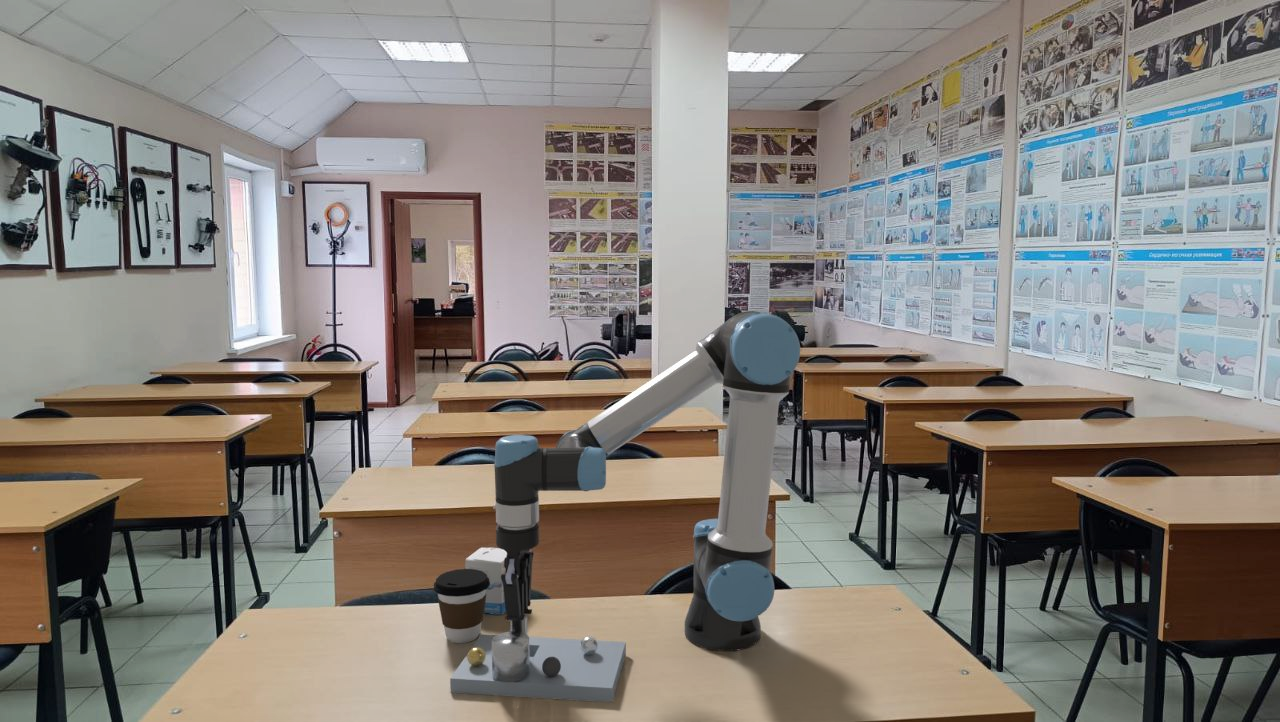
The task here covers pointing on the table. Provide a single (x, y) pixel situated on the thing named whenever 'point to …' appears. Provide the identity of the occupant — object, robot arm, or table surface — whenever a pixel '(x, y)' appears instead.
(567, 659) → the plate
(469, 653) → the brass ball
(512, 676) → the shiny silver cylinder
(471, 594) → the coffee cup
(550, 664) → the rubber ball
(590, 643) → the steel ball
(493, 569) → the ink box
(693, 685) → the table surface
